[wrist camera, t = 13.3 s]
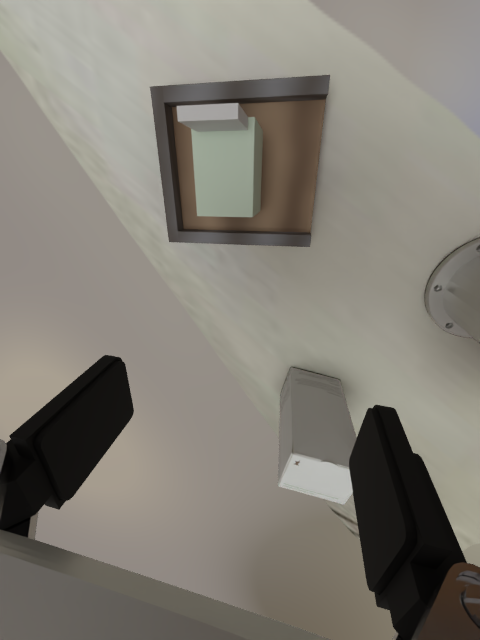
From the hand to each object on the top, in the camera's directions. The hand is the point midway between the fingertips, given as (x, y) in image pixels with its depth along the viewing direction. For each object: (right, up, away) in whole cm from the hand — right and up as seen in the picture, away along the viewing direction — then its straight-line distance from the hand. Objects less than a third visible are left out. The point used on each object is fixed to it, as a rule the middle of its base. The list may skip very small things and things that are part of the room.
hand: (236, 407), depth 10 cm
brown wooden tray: (+1, +20, +20) cm, 29 cm away
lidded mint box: (0, +19, +18) cm, 26 cm away
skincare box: (+12, -7, +33) cm, 35 cm away
